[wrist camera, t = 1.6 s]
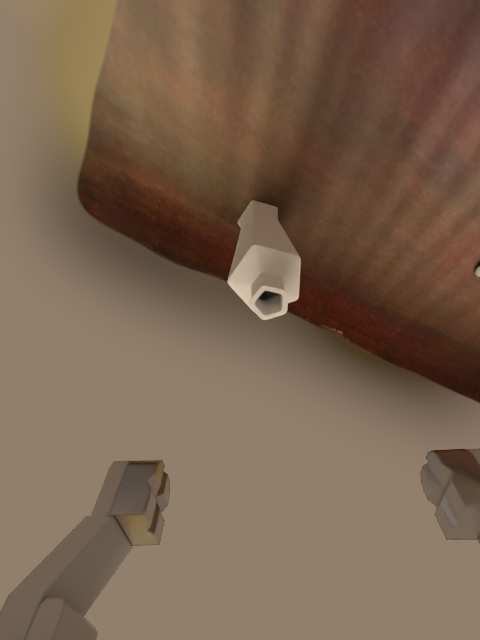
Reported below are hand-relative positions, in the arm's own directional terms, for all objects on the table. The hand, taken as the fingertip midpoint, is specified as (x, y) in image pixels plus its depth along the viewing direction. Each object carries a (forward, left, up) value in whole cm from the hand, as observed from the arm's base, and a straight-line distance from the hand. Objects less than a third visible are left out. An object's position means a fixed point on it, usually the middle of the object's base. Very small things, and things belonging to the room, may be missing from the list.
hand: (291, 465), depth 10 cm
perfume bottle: (0, 0, -24) cm, 24 cm away
